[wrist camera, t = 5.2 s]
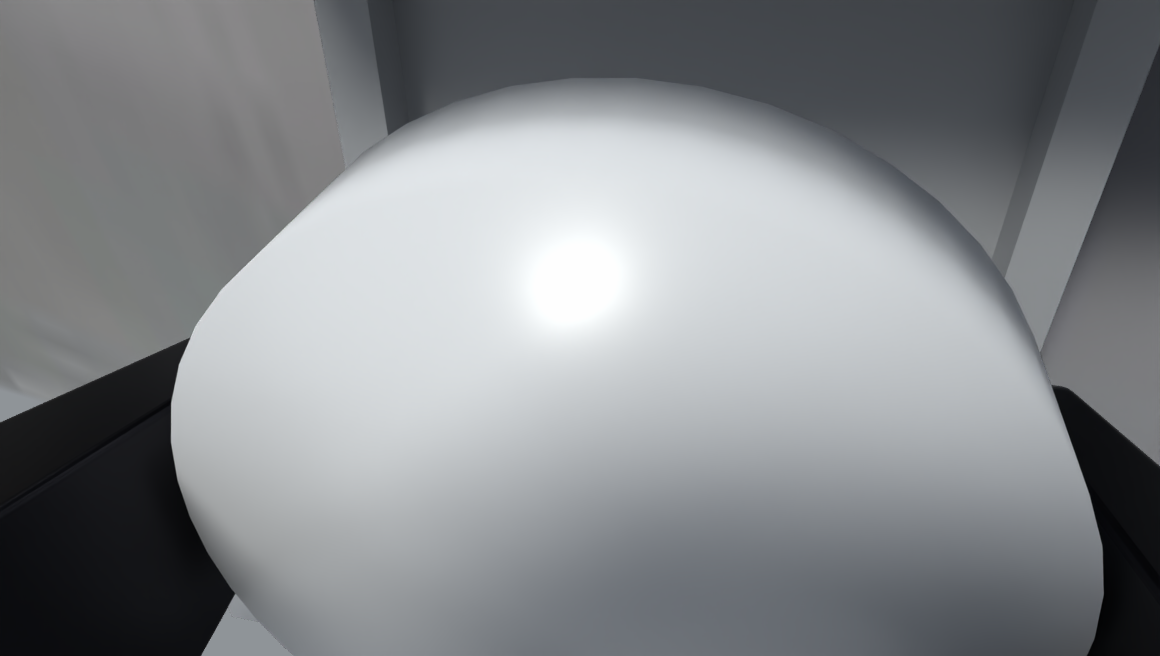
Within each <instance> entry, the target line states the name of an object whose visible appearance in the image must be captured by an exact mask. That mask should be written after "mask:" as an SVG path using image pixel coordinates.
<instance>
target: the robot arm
mask: <svg viewBox="0 0 1160 656" xmlns="http://www.w3.org/2000/svg"><path fill="white" fill-rule="evenodd" d="M190 338H191V337H190ZM190 338H188V339H186V340H184V341H181V342H179V343H177V344H175V345H173V346H170V347H168V348H166V349H164V350H161V351H159V352H157V353H155V354H152V355H150V356H148V357H146V358H143V359H141V360H139V361H137V362H134V363H132V364H130V365H128V366H125V367H123V368H121V369H119V370H117V371H114V372H112V373H110V374H108V375H105V376H103V377H101V378H99V379H96V380H94V381H92V382H90V383H87V384H85V385H83V386H81V387H78V388H76V389H74V390H72V391H70V392H67V393H65V394H63V395H61V396H58V397H56V398H54V399H52V400H49V401H47V402H45V403H43V404H40V405H38V406H36V407H34V408H32V409H29V410H27V411H25V412H23V413H20V414H18V415H16V416H14V417H11V418H9V419H7V420H5V421H3V422H0V656H201V655H202V653H203V651H204V649H205V647H206V646H207V644H208V642H209V640H210V639H211V637H212V635H213V633H214V631H215V630H216V628H217V626H218V624H219V622H220V621H221V619H222V617H223V615H224V613H225V612H226V610H227V608H228V606H229V604H230V603H231V601H232V599H233V597H234V595H235V592H234V591H233V590H232V589H231V587H230V586H229V585H228V583H227V582H226V580H225V579H224V577H223V575H222V574H221V572H220V571H219V569H218V568H217V566H216V565H215V563H214V562H213V560H212V559H211V557H210V556H209V554H208V552H207V550H206V548H205V546H204V544H203V542H202V540H201V538H200V536H199V534H198V532H197V530H196V528H195V526H194V524H193V522H192V520H191V518H190V516H189V513H188V510H187V507H186V504H185V501H184V498H183V495H182V492H181V489H180V486H179V483H178V480H177V474H176V468H175V462H174V457H173V451H172V445H171V402H172V397H173V392H174V387H175V382H176V378H177V373H178V368H179V364H180V361H181V359H182V357H183V354H184V352H185V350H186V347H187V345H188V343H189V340H190ZM1051 386H1052V389H1053V392H1054V395H1055V397H1056V400H1057V403H1058V406H1059V409H1060V412H1061V415H1062V417H1063V420H1064V423H1065V426H1066V429H1067V432H1068V435H1069V438H1070V440H1071V443H1072V446H1073V449H1074V452H1075V455H1076V458H1077V461H1078V463H1079V466H1080V469H1081V472H1082V475H1083V478H1084V481H1085V483H1086V486H1087V489H1088V492H1089V495H1090V499H1091V503H1092V507H1093V511H1094V515H1095V519H1096V523H1097V527H1098V531H1099V535H1100V539H1101V543H1102V550H1103V588H1104V595H1103V600H1102V605H1101V610H1100V615H1099V620H1098V624H1097V629H1096V634H1095V639H1094V641H1093V643H1092V645H1091V648H1090V650H1089V652H1088V654H1087V656H1160V466H1159V465H1158V464H1157V463H1155V462H1154V461H1153V460H1152V459H1151V458H1150V457H1148V456H1147V455H1146V454H1145V453H1144V452H1143V451H1141V450H1140V449H1139V448H1138V447H1137V446H1136V445H1134V444H1133V443H1132V442H1131V441H1130V440H1129V439H1127V438H1126V437H1125V436H1124V435H1123V434H1122V433H1120V432H1119V431H1118V430H1117V429H1116V428H1115V427H1113V426H1112V425H1111V424H1110V423H1109V422H1108V421H1106V420H1105V419H1104V418H1103V417H1102V416H1101V415H1099V414H1098V413H1097V412H1096V411H1095V410H1094V409H1092V408H1091V407H1090V406H1089V405H1088V404H1087V403H1085V402H1084V401H1083V400H1082V399H1081V398H1080V397H1078V396H1077V395H1076V394H1075V393H1074V392H1072V391H1071V390H1070V389H1068V388H1066V387H1062V386H1055V385H1051Z"/></svg>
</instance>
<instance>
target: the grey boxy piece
mask: <svg viewBox="0 0 1160 656" xmlns="http://www.w3.org/2000/svg"><path fill="white" fill-rule="evenodd" d="M314 5H315V11H316V16H317V21H318V26H319V32H320V37H321V42H322V47H323V53H324V58H325V63H326V68H327V74H328V79H329V84H330V89H331V95H332V100H333V105H334V110H335V116H336V121H337V126H338V131H339V137H340V142H341V147H342V152H343V158H344V163H345V168H347V167H348V166H349V165H350V164H352V163H353V162H354V161H355V160H356V159H357V158H358V157H359V156H360V155H361V154H362V153H363V152H364V151H366V150H367V149H369V148H370V147H372V146H373V145H375V144H376V143H378V142H379V141H381V140H382V139H384V138H385V137H387V136H388V135H390V134H391V133H393V132H394V131H396V130H398V129H399V128H401V127H402V126H404V125H405V124H407V123H409V122H411V121H414V120H416V119H418V118H420V117H422V116H425V115H427V114H429V113H431V112H433V111H436V110H438V109H440V108H442V107H445V106H447V105H449V104H451V103H453V102H456V101H460V100H463V99H467V98H470V97H474V96H477V95H481V94H484V93H488V92H491V91H495V90H499V89H502V88H506V87H509V86H515V85H523V84H530V83H538V82H545V81H553V80H560V79H567V78H640V79H648V80H656V81H663V82H671V83H678V84H686V85H694V86H701V87H706V88H710V89H713V90H717V91H721V92H725V93H729V94H732V95H736V96H740V97H744V98H748V99H751V100H755V101H759V102H763V103H766V104H770V105H772V106H775V107H777V108H780V109H782V110H784V111H787V112H789V113H792V114H794V115H797V116H799V117H802V118H804V119H806V120H809V121H811V122H814V123H816V124H819V125H821V126H824V127H826V128H829V129H831V130H833V131H835V132H836V133H838V134H840V135H842V136H843V137H845V138H847V139H849V140H850V141H852V142H854V143H856V144H857V145H859V146H861V147H863V148H864V149H866V150H868V151H870V152H871V153H873V154H875V155H877V156H878V157H880V158H882V159H884V160H885V161H887V162H889V163H890V164H892V165H893V166H894V167H895V168H897V169H898V170H899V171H901V172H902V173H903V174H904V175H906V176H907V177H908V178H910V179H911V180H912V181H914V182H915V183H916V184H917V185H919V186H920V187H921V188H923V189H924V190H925V191H926V192H928V193H929V194H930V195H932V196H933V197H934V198H936V199H937V200H938V201H939V202H940V203H941V204H942V205H943V206H944V207H945V208H946V209H947V210H948V211H949V212H950V213H951V214H952V215H953V216H954V217H955V218H956V219H957V220H958V221H959V222H960V223H961V224H962V226H963V227H964V228H965V229H966V230H967V231H968V232H969V233H970V234H971V235H972V236H973V237H974V238H975V239H976V240H977V241H978V242H979V243H980V244H981V246H982V247H983V248H984V250H985V251H986V253H987V254H988V256H989V257H990V259H991V260H992V261H993V263H994V264H995V266H996V267H997V269H998V270H999V271H1000V273H1001V274H1002V276H1003V277H1004V279H1005V280H1006V282H1007V283H1008V284H1009V286H1010V287H1011V289H1012V290H1013V292H1014V294H1015V297H1016V299H1017V301H1018V303H1019V305H1020V307H1021V309H1022V311H1023V314H1024V316H1025V318H1026V320H1027V322H1028V324H1029V326H1030V329H1031V331H1032V333H1033V335H1034V337H1035V340H1036V343H1037V346H1038V349H1039V352H1040V351H1041V349H1042V346H1043V344H1044V341H1045V338H1046V336H1047V333H1048V331H1049V328H1050V326H1051V323H1052V320H1053V318H1054V315H1055V313H1056V310H1057V308H1058V305H1059V302H1060V300H1061V297H1062V295H1063V292H1064V290H1065V287H1066V284H1067V282H1068V279H1069V277H1070V274H1071V272H1072V269H1073V266H1074V264H1075V261H1076V259H1077V256H1078V254H1079V251H1080V248H1081V246H1082V243H1083V241H1084V238H1085V236H1086V233H1087V230H1088V228H1089V225H1090V223H1091V220H1092V217H1093V215H1094V212H1095V210H1096V207H1097V205H1098V202H1099V199H1100V197H1101V194H1102V192H1103V189H1104V187H1105V184H1106V181H1107V179H1108V176H1109V174H1110V171H1111V169H1112V166H1113V163H1114V161H1115V158H1116V156H1117V153H1118V151H1119V148H1120V145H1121V143H1122V140H1123V138H1124V135H1125V133H1126V130H1127V127H1128V125H1129V122H1130V120H1131V117H1132V115H1133V112H1134V109H1135V107H1136V104H1137V102H1138V99H1139V97H1140V94H1141V91H1142V89H1143V86H1144V84H1145V81H1146V78H1147V76H1148V73H1149V71H1150V68H1151V66H1152V63H1153V60H1154V58H1155V55H1156V53H1157V50H1158V48H1159V45H1160V0H314ZM228 609H229V611H230V613H231V616H232V617H237V618H241V619H247V620H251V621H256V622H259V621H258V620H257V619H256V618H255V617H254V616H253V614H252V613H251V612H250V611H249V610H248V608H247V607H246V606H245V605H244V603H243V602H242V601H241V600H240V598H239V597H238V596H237V595H236V594H235V595H234V597H233V599H232V601H231V603H230V604H229V606H228Z"/></svg>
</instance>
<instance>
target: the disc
mask: <svg viewBox="0 0 1160 656" xmlns="http://www.w3.org/2000/svg"><path fill="white" fill-rule="evenodd" d="M171 445H172V451H173V457H174V462H175V468H176V474H177V480H178V483H179V486H180V489H181V492H182V495H183V498H184V501H185V504H186V507H187V510H188V513H189V516H190V518H191V520H192V522H193V524H194V526H195V528H196V530H197V532H198V534H199V536H200V538H201V540H202V542H203V544H204V546H205V548H206V550H207V552H208V554H209V556H210V557H211V559H212V560H213V562H214V563H215V565H216V566H217V568H218V569H219V571H220V572H221V574H222V575H223V577H224V579H225V580H226V582H227V583H228V585H229V586H230V587H231V589H232V590H233V591H234V592H235V594H236V595H237V596H238V597H239V598H240V600H241V601H242V602H243V603H244V605H245V606H246V607H247V608H248V610H249V611H250V612H251V613H252V614H253V616H254V617H255V618H256V619H257V620H258V621H259V622H260V623H261V624H262V625H263V626H264V627H265V628H266V629H267V630H268V631H269V632H270V633H271V634H272V635H273V636H274V637H275V639H277V640H278V641H279V643H280V644H281V645H282V646H283V647H284V648H285V649H287V650H288V651H289V652H290V653H291V654H293V655H294V656H1087V654H1088V652H1089V650H1090V648H1091V645H1092V643H1093V641H1094V639H1095V634H1096V629H1097V624H1098V620H1099V615H1100V610H1101V605H1102V600H1103V595H1104V588H1103V550H1102V543H1101V539H1100V535H1099V531H1098V527H1097V523H1096V519H1095V515H1094V511H1093V507H1092V503H1091V499H1090V495H1089V492H1088V489H1087V486H1086V483H1085V481H1084V478H1083V475H1082V472H1081V469H1080V466H1079V463H1078V461H1077V458H1076V455H1075V452H1074V449H1073V446H1072V443H1071V440H1070V438H1069V435H1068V432H1067V429H1066V426H1065V423H1064V420H1063V417H1062V415H1061V412H1060V409H1059V406H1058V403H1057V400H1056V397H1055V395H1054V392H1053V389H1052V386H1051V383H1050V380H1049V377H1048V374H1047V372H1046V369H1045V366H1044V363H1043V360H1042V357H1041V354H1040V352H1039V349H1038V346H1037V343H1036V340H1035V337H1034V335H1033V333H1032V331H1031V329H1030V326H1029V324H1028V322H1027V320H1026V318H1025V316H1024V314H1023V311H1022V309H1021V307H1020V305H1019V303H1018V301H1017V299H1016V297H1015V294H1014V292H1013V290H1012V289H1011V287H1010V286H1009V284H1008V283H1007V282H1006V280H1005V279H1004V277H1003V276H1002V274H1001V273H1000V271H999V270H998V269H997V267H996V266H995V264H994V263H993V261H992V260H991V259H990V257H989V256H988V254H987V253H986V251H985V250H984V248H983V247H982V246H981V244H980V243H979V242H978V241H977V240H976V239H975V238H974V237H973V236H972V235H971V234H970V233H969V232H968V231H967V230H966V229H965V228H964V227H963V226H962V224H961V223H960V222H959V221H958V220H957V219H956V218H955V217H954V216H953V215H952V214H951V213H950V212H949V211H948V210H947V209H946V208H945V207H944V206H943V205H942V204H941V203H940V202H939V201H938V200H937V199H936V198H934V197H933V196H932V195H930V194H929V193H928V192H926V191H925V190H924V189H923V188H921V187H920V186H919V185H917V184H916V183H915V182H914V181H912V180H911V179H910V178H908V177H907V176H906V175H904V174H903V173H902V172H901V171H899V170H898V169H897V168H895V167H894V166H893V165H892V164H890V163H889V162H887V161H885V160H884V159H882V158H880V157H878V156H877V155H875V154H873V153H871V152H870V151H868V150H866V149H864V148H863V147H861V146H859V145H857V144H856V143H854V142H852V141H850V140H849V139H847V138H845V137H843V136H842V135H840V134H838V133H836V132H835V131H833V130H831V129H829V128H826V127H824V126H821V125H819V124H816V123H814V122H811V121H809V120H806V119H804V118H802V117H799V116H797V115H794V114H792V113H789V112H787V111H784V110H782V109H780V108H777V107H775V106H772V105H770V104H766V103H763V102H759V101H755V100H751V99H748V98H744V97H740V96H736V95H732V94H729V93H725V92H721V91H717V90H713V89H710V88H706V87H701V86H694V85H686V84H678V83H671V82H663V81H656V80H648V79H640V78H567V79H560V80H553V81H545V82H538V83H530V84H523V85H515V86H509V87H506V88H502V89H499V90H495V91H491V92H488V93H484V94H481V95H477V96H474V97H470V98H467V99H463V100H460V101H456V102H453V103H451V104H449V105H447V106H445V107H442V108H440V109H438V110H436V111H433V112H431V113H429V114H427V115H425V116H422V117H420V118H418V119H416V120H414V121H411V122H409V123H407V124H405V125H404V126H402V127H401V128H399V129H398V130H396V131H394V132H393V133H391V134H390V135H388V136H387V137H385V138H384V139H382V140H381V141H379V142H378V143H376V144H375V145H373V146H372V147H370V148H369V149H367V150H366V151H364V152H363V153H362V154H361V155H360V156H359V157H358V158H357V159H356V160H355V161H354V162H353V163H352V164H350V165H349V166H348V167H347V168H346V169H345V170H344V171H343V172H342V173H341V174H340V175H339V176H338V177H337V178H335V179H334V180H333V181H332V182H331V183H330V184H329V185H328V186H327V187H326V188H325V189H324V190H323V191H322V192H321V193H320V194H319V195H318V196H317V197H316V198H315V199H314V200H313V201H312V202H311V203H310V204H309V205H308V206H307V207H306V208H305V209H304V210H303V211H301V212H300V213H299V214H298V215H297V216H296V217H295V218H294V219H293V220H292V221H291V222H290V223H289V224H288V225H287V226H286V227H285V228H284V229H283V230H282V231H281V232H280V233H279V234H278V235H277V236H276V237H275V238H274V239H273V240H272V241H271V242H270V243H269V244H268V245H267V246H266V247H265V248H264V249H263V250H261V251H260V252H259V253H258V254H257V255H256V256H255V257H254V258H253V259H252V260H251V261H250V262H249V263H248V264H247V265H246V266H245V267H244V268H243V269H242V270H241V271H240V272H239V273H238V274H237V275H236V276H235V277H234V278H233V279H232V280H231V281H230V282H229V283H228V284H227V285H226V286H225V287H224V288H222V290H221V291H220V293H219V294H218V295H217V297H216V298H215V300H214V301H213V302H212V304H211V305H210V307H209V308H208V309H207V311H206V312H205V314H204V315H203V316H202V318H201V319H200V321H199V322H198V323H197V325H196V327H195V329H194V331H193V333H192V336H191V338H190V340H189V343H188V345H187V347H186V350H185V352H184V354H183V357H182V359H181V361H180V364H179V368H178V373H177V378H176V382H175V387H174V392H173V397H172V402H171Z"/></svg>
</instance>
